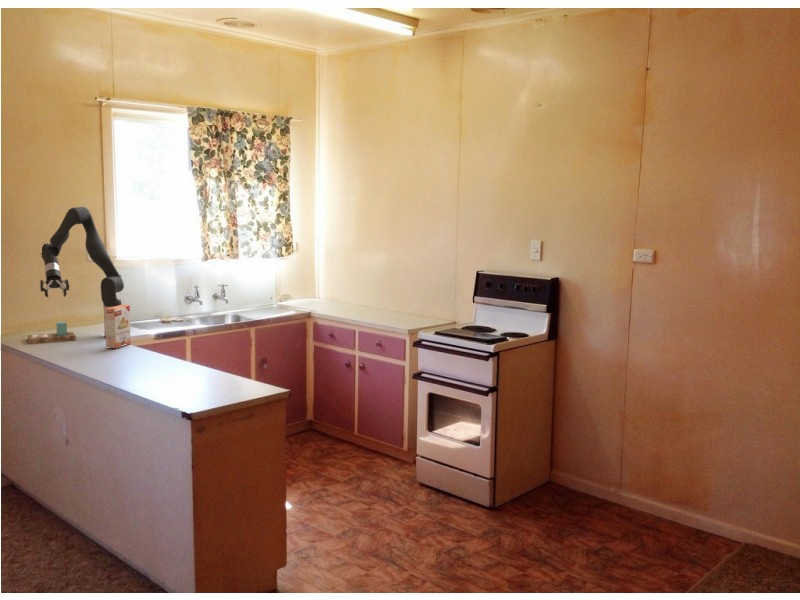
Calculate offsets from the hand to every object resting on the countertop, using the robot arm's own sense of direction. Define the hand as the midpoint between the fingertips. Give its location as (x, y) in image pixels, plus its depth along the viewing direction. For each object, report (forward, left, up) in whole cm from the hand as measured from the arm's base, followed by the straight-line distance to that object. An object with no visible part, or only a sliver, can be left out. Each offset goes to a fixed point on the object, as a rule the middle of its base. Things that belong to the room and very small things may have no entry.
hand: (56, 296), depth 395 cm
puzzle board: (-2, +12, -22) cm, 25 cm away
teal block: (-6, +10, -22) cm, 25 cm away
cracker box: (-41, +22, -23) cm, 52 cm away
